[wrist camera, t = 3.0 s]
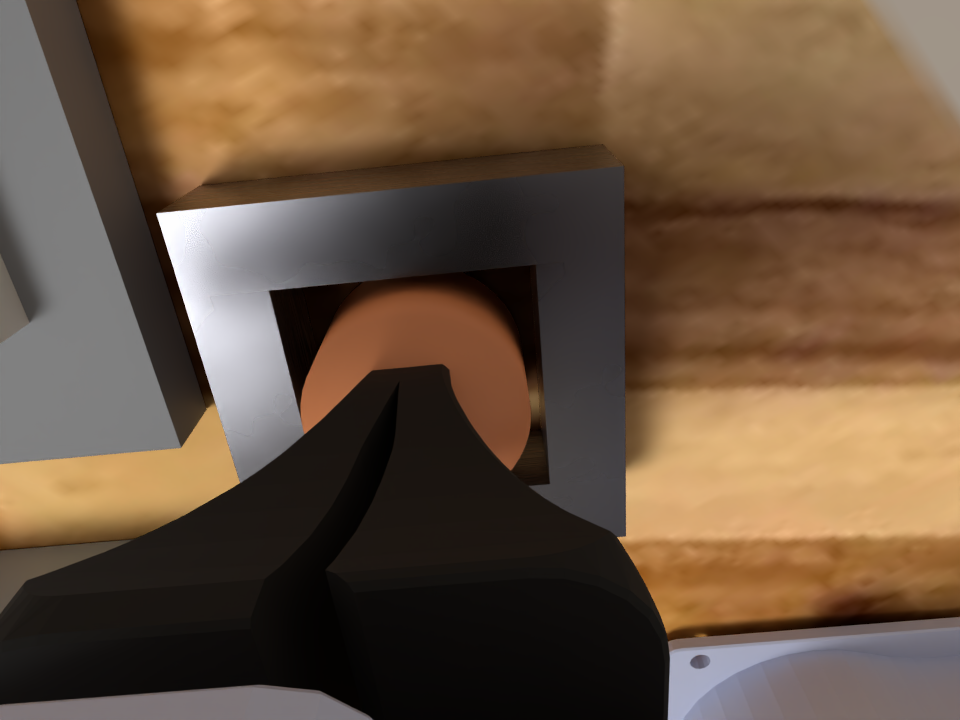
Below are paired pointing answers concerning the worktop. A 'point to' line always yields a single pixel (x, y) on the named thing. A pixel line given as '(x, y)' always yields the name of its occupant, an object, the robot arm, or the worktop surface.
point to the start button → (429, 352)
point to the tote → (42, 563)
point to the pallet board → (77, 262)
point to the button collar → (407, 253)
